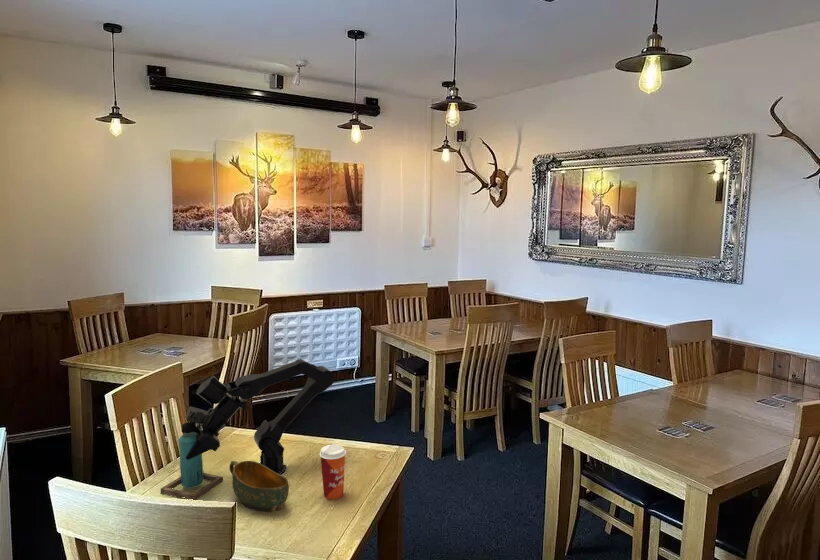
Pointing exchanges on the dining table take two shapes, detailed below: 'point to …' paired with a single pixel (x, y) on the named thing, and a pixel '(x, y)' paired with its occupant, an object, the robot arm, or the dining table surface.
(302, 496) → the dining table surface
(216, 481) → the walnut collar
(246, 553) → the dining table surface
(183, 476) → the beverage bottle
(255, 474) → the green bowl
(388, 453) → the dining table surface
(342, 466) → the paper cup
